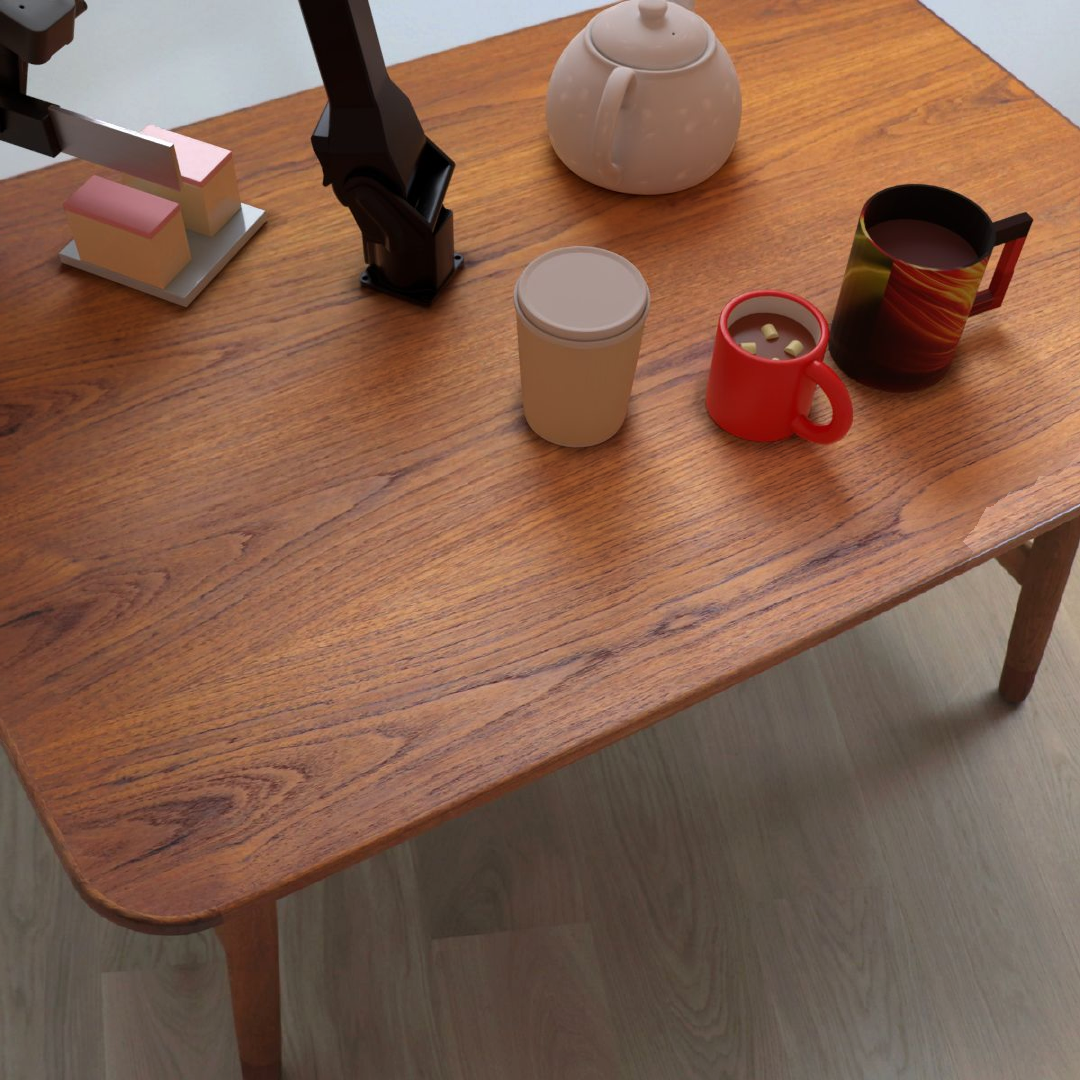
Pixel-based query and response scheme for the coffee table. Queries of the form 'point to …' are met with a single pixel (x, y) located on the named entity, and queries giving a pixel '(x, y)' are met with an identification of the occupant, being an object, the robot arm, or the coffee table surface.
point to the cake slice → (128, 231)
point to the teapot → (644, 99)
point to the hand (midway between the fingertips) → (8, 123)
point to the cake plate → (198, 264)
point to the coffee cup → (579, 342)
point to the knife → (86, 139)
